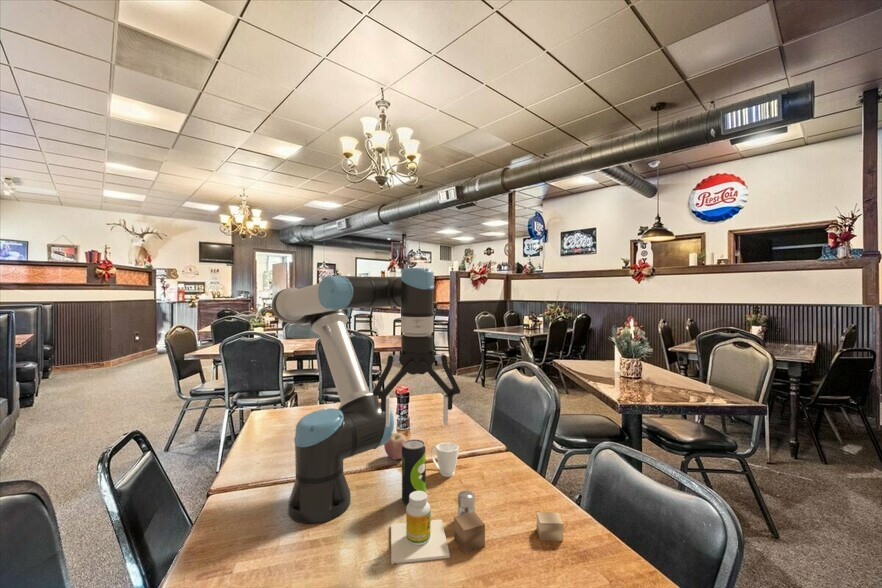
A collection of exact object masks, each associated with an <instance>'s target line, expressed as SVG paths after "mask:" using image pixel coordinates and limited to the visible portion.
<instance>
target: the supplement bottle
mask: <svg viewBox="0 0 882 588" xmlns="http://www.w3.org/2000/svg"><path fill="white" fill-rule="evenodd" d="M405 509H406V510H405V512H406V513H405V517H406V520H405V523H406V538H407V541H408V542H409V543H410V544H412V545H415V546H419V545H424V544H426V543H427V542H428V541H429V540H430V534H431V533H430V527H431V526H430V521H431V520H432V519H431V514H432V513H431V511H432V510H431V504H430V503H429V502H428V493H427V492H424V491H414V492H412V493H411V494H410V495H409V503H408V505H407V504H406V508H405Z"/></svg>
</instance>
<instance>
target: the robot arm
mask: <svg viewBox="0 0 882 588" xmlns="http://www.w3.org/2000/svg"><path fill="white" fill-rule="evenodd" d="M434 279H435V277H434V272H433V270H432V269H431V268H429V267H406V268H403V269H402V271H401V276H360V275H359V276H355V275H354V276H353V275H342V274H338V275H336V274H335V275H326V276H324V277H323V278H321V281H320V282H319V283H314V284H312V285H307V286H295V287H287V288H284V289H282V290H280V291H278V292H277V293H276V294H275V295H274V296H273V298H272V301H271V310H272V312H273V314H274V316H275V317H276V318H277V319H278V320H280V321H281V322H283V323H286V324H290V325H291V324H292V325H305V324H306V325H307V324H308V325H310V328H311V331H312V333H314V334H317V335H318V336H319V340H320V342H321V345H322V349H323V352H324V354H325V358H326V361H327V365H328V366H329V370H330V373H331V377H332V380H333V383H334V386H335V388H336V391H337V392H336V393H337V395H338V399H339V401H340V404H339V406H338V408H326V409H319V410H314V411H312V412H310V413H308V414H307V413H306V415H304V416H302V417H301V418H300V419H299V421H298V422H297V423H296V426H295V433H294V441H293V442H294V452H295V455H294V457H295V460H294V461H295V480H294V485H293V487H292V490H291V493H290V496H289V499H288V505H287V506H288V515H289V517H290V519H292V520H293V521H295V522H297V523H301V524H312V525H313V524H321V523H324V522H328V521H331V520H333V519H335V518H337V517H339V516H340V515H343V513H345V512H346V511H347V510H348V508H349V507H350V505H351V490H350V488H349V485H348V482H347V478H346V476H345V473H344V460H345V459H348V458H351V457H353V456H357V455H361V454H363V453H365V452H368V451H370V450H371V451H372V450H376V449H378V448H379V447H382V446H384V444H386V443H387V442H388V441H389V440H390V438H391V436H392V434H393V433H394V427H395V421H394V420H395V419H394V415H393V411H392V409H391V407H390V405H391V404H390V403H391V400H390V399H391V396H390V393H391V392H392V390H393V389H395V387H396V386H397V385H398V383H399V382H400V381H401V380H402V379H403V378H404V377H405V376H406V375H407V373H408V374H409V375H413V376H415V375H417V374H418V375H425V374H426V373H428V375H429V376H430V377H431V378H432V379H433V380H434V381H435V382H436V384H437V385H438V386H439V387H440V388H441V390H443V392H445V393H444V394H443V404H442V405H443V409H442V411H443V413H442V414H443V416H442V417H443V419H442V420H443V425H444V426H449V425H448V424H449V421H448V420H449V411H451V410H452V409H453V397H454V396H455V395H460V393H461V389H460V387H459V385H458V383H457V381H456V378H455V377H454V375H453V373H452V371H451V369H450V367H449V364H448V358H447V355H446V353H443V352H442V353H441V354H438V355H435V353H434V336H433V333H434V303H435V300H434V299H435V281H434ZM388 307H389V308H391V307H392V308H401V315H400V316H401V321H400V322H401V323H400V324H401V326H400V328H401V330H400V331H401V333H402V335H401V337H400V339H401V340H400V341H401V342H400V343H401V345H400V347H401V349H400V355H393V353H389V354H388V356H387V361H386V365H385V367H384V368H383V370H382V373H381V375H380V377H379V378H378V381H377V382H376V385H375V387H374V389H373V391H372V392H371V391H370V389H369V386H368V384H367V381H366V378H365V376H364V373H363V370H362V367H361V363H360V362H359V359H358V356H357V353H356V350H355V348H354V346H353V343H352V341H351V337H350V335H349V332H348V329H347V326H346V325H347V323H348V321H349V317H350V315H351V309H364V308H365V309H367V308H368V309H369V308H372V309H373V308H388ZM436 361H437V362H438V365H439V364H440V365H441V366H442V368H443V370H444V372H445V374H446V376H447V378H448V380H449V382H450V384H451V386H452V388H450V387H449V386H448V385H447V383H445V381H444V380H443V379H442V378H441V376H440V375H439V374H438V372H436V371H435V369H434V368H433V365H434V363H435V362H436ZM397 362H399V363H400V364H401V366H402V367H401V368H400V369H399V371H398V372H397V373H396V374H395V375H394V376H393V378H392V379H391V380H390V381H389V382H388V384H387V385H386V386H385V387H383V385H384V384H385V381H386V379H387V377H388V375H389V374H390V371H391V369H392V367H393V366H395V365H396V363H397ZM382 387H383V389H382ZM378 397H379V398H380V400H379V398H378Z"/></svg>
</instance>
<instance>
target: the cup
mask: <svg viewBox="0 0 882 588" xmlns="http://www.w3.org/2000/svg"><path fill="white" fill-rule="evenodd" d="M434 451H435V452H436V458H437V459H435V456H434ZM459 451H460V446H459V445H458V444H456V443H455V442H449V441H446V442H441V443H438V444H437V445H433V446H432V447H431V452H430V453H431V454H430V457H431V461H432V462H433V464H434V465H435V466H436V468H437V469H438V471H440V473H439V474H440V475H441V476H442V477H446V478H449V477H453V476H454V475H455V474H456V473H455V470H456V468H457V467H456V466H457V462H458V456H459ZM436 460H437V461H436Z"/></svg>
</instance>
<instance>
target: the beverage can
mask: <svg viewBox="0 0 882 588" xmlns="http://www.w3.org/2000/svg"><path fill="white" fill-rule="evenodd" d="M426 457H427V456H426V445H425V441H423V440H421V439H417V438H416V439H414V438H413V439H408V440H407V441H405V442H404V443H403V446H402V458H401V500H402V501H403V502H404V504H405V505H406V506H407V505H408V503H409V495H410V494H411V493H412V492H414V491H424V492H426V489H427V488H426V485H427V482H426V478H427V477H426V476H427V475H426V472H427V471H426V470H427V468H426V466H427V465H426V462H427V461H426ZM426 493H427V492H426Z"/></svg>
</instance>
